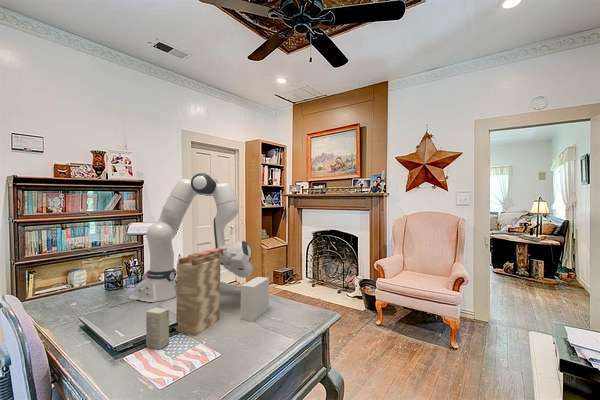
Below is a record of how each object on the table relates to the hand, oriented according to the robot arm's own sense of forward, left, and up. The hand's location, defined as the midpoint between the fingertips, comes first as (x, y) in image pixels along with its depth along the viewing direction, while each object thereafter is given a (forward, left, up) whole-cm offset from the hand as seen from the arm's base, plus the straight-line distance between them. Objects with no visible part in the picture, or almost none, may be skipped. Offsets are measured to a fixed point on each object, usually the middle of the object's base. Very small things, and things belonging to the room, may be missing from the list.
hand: (217, 251), depth 125 cm
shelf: (+16, +4, -28) cm, 33 cm away
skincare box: (-8, -29, -28) cm, 41 cm away
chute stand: (-2, -12, -28) cm, 30 cm away
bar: (-1, -6, -2) cm, 7 cm away
